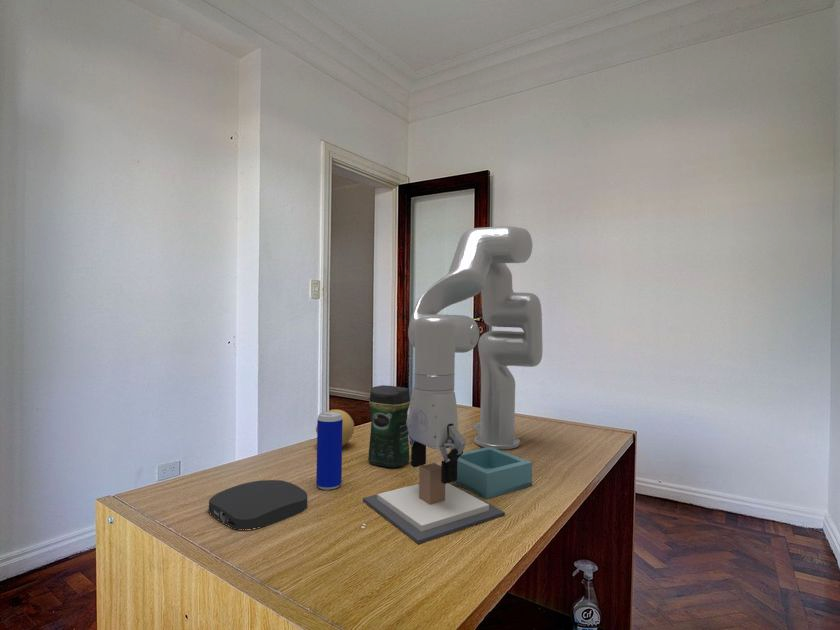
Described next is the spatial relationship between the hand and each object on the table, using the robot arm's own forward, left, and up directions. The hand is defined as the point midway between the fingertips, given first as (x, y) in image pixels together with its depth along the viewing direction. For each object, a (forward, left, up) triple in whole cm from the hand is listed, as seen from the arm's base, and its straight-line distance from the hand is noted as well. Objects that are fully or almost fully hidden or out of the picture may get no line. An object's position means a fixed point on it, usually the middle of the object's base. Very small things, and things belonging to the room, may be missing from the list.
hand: (433, 473), depth 84 cm
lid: (0, 0, -6) cm, 6 cm away
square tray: (-4, +18, -6) cm, 19 cm away
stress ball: (-44, 0, -7) cm, 44 cm away
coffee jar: (-26, +6, -7) cm, 27 cm away
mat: (0, 0, -6) cm, 6 cm away
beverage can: (-20, -12, -7) cm, 24 cm away
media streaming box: (-17, -27, -7) cm, 33 cm away
